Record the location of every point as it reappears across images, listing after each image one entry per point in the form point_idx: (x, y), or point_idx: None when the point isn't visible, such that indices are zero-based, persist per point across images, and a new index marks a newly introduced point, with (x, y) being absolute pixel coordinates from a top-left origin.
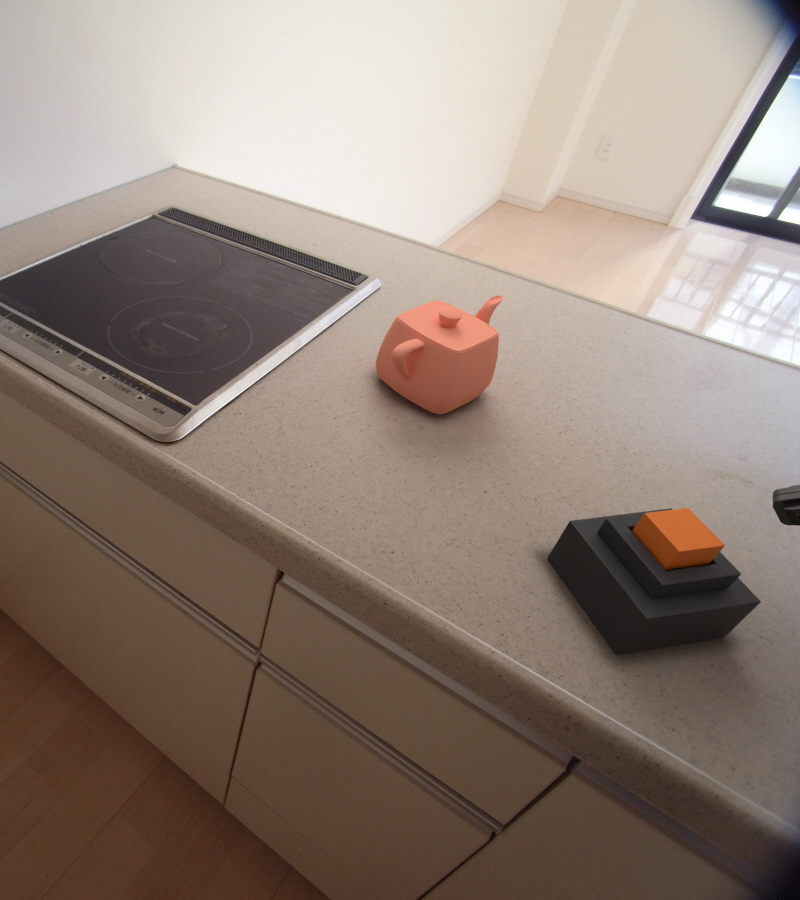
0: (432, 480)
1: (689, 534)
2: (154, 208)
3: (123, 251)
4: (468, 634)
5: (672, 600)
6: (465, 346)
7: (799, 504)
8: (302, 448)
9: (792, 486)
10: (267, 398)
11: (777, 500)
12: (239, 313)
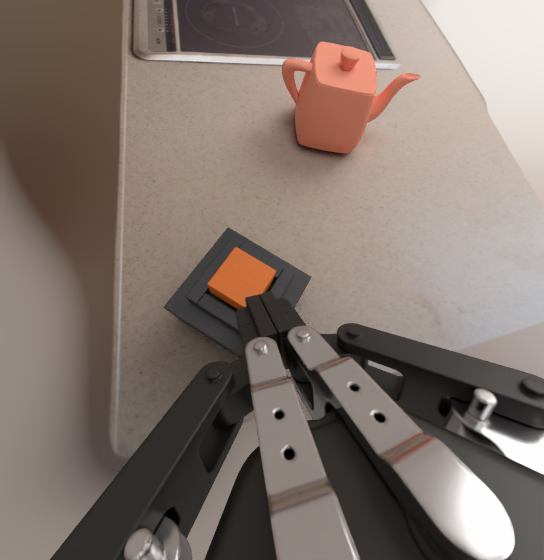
0: (238, 170)
1: (238, 282)
2: None
3: None
4: (121, 243)
5: (200, 314)
6: (330, 83)
7: (246, 315)
8: (197, 106)
9: (287, 301)
10: (223, 73)
11: (246, 297)
12: (283, 28)
